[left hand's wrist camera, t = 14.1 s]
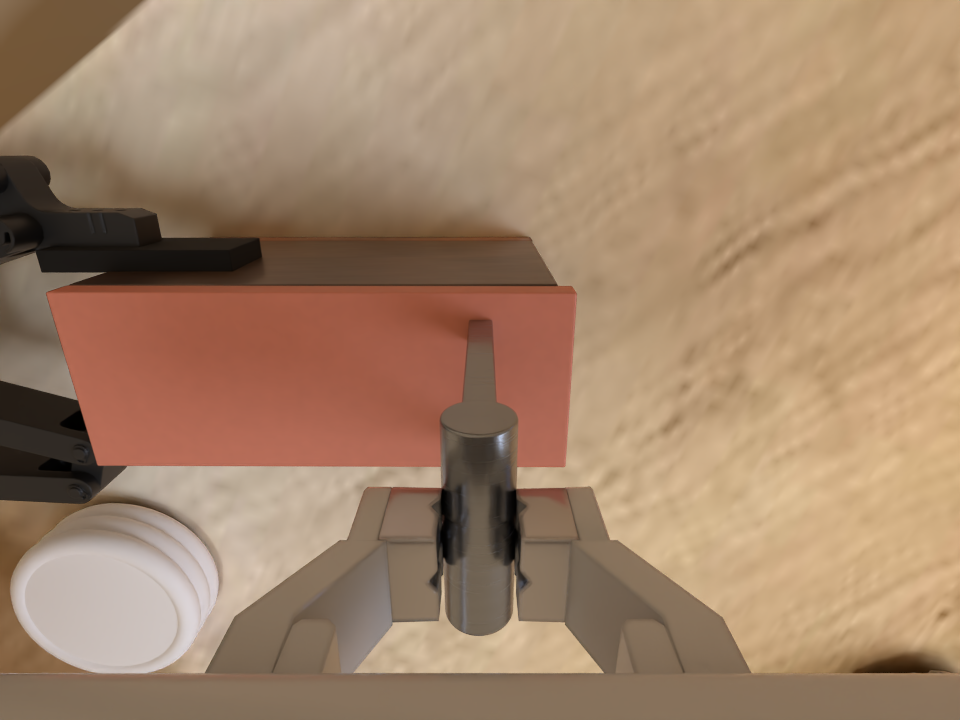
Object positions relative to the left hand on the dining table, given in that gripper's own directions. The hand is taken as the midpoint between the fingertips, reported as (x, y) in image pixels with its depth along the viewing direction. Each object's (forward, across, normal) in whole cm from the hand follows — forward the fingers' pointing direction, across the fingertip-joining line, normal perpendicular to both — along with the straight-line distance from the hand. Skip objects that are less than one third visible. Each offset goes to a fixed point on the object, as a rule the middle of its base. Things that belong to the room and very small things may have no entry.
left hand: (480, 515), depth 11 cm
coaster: (+17, -20, -17) cm, 31 cm away
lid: (+7, -5, 0) cm, 9 cm away
